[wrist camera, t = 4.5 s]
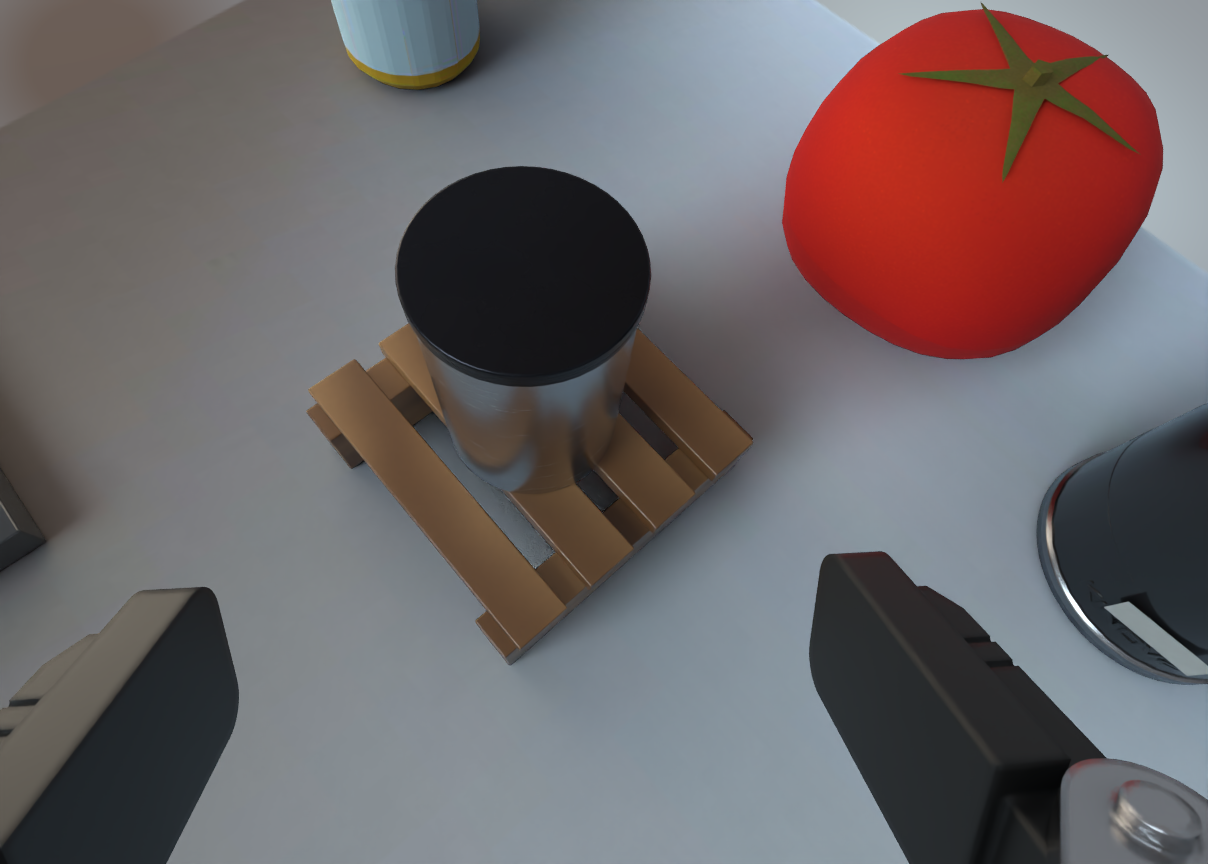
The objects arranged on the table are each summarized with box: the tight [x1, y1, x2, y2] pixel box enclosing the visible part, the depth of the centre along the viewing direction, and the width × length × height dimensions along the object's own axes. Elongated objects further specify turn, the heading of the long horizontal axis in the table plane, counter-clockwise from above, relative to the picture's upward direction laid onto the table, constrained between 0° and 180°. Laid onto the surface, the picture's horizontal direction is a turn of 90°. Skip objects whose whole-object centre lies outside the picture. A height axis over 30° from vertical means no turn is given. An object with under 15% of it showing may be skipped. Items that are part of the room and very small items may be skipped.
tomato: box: [782, 3, 1163, 359], centre depth 28 cm, size 13×14×12 cm
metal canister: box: [395, 166, 651, 494], centre depth 21 cm, size 6×6×9 cm
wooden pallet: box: [307, 323, 753, 665], centre depth 27 cm, size 12×12×4 cm
